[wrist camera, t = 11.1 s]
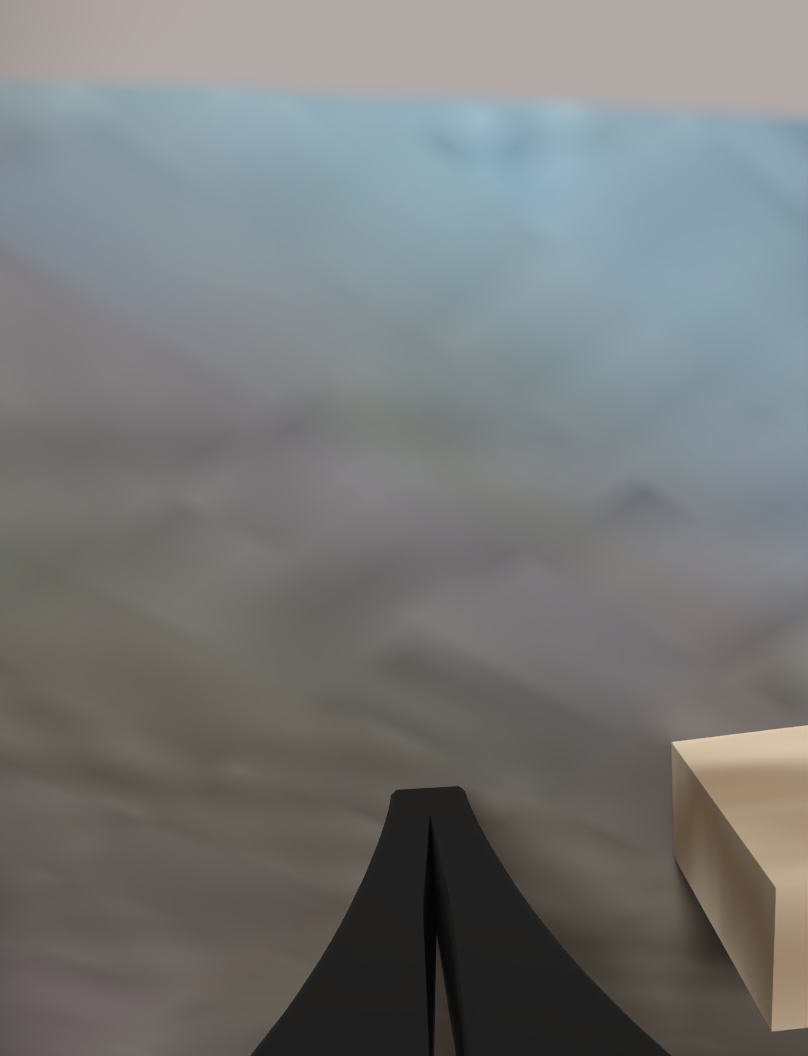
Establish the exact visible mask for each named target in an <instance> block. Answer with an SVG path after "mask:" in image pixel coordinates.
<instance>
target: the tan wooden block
mask: <svg viewBox="0 0 808 1056" xmlns="http://www.w3.org/2000/svg"><path fill="white" fill-rule="evenodd" d="M671 746H672V788H673V830H674V858H675V860H676V861H677V863H678V865H679V867H680V869H681V870H682V872H683V874H684V876H685V878H686V879H687V881H688V883H689V885H690V887H691V888H692V890H693V892H694V894H695V896H696V897H697V899H698V901H699V903H700V904H701V906H702V908H703V910H704V912H705V913H706V915H707V917H708V919H709V921H710V922H711V924H712V926H713V928H714V930H715V931H716V933H717V935H718V937H719V939H720V940H721V942H722V944H723V946H724V947H725V949H726V951H727V953H728V955H729V956H730V958H731V960H732V962H733V964H734V965H735V967H736V969H737V971H738V973H739V974H740V976H741V978H742V980H743V982H744V983H745V985H746V987H747V989H748V990H749V992H750V994H751V996H752V998H753V999H754V1001H755V1003H756V1005H757V1007H758V1008H759V1010H760V1012H761V1014H762V1016H763V1017H764V1019H765V1021H766V1023H767V1024H768V1026H769V1028H770V1030H771V1032H772V1031H781V1030H790V1029H799V1028H808V725H807V726H799V727H790V728H782V729H774V730H766V731H758V732H750V733H742V734H733V735H725V736H717V737H709V738H701V739H693V740H684V741H676V742H671Z"/></svg>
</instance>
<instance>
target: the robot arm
mask: <svg viewBox="0 0 808 1056" xmlns="http://www.w3.org/2000/svg"><path fill="white" fill-rule="evenodd" d="M436 931H437V937H438V944H439V950H440V957H441V963H442V969H443V976H444V982H445V988H446V995H447V1001H448V1007H449V1013H450V1020H451V1026H452V1032H453V1039H454V1045H455V1051H456V1056H671V1055H670V1054H669V1053H667V1052H666V1051H665V1050H664V1049H663V1048H662V1047H661V1046H660V1045H658V1044H657V1043H656V1042H655V1041H654V1040H653V1039H652V1038H651V1037H650V1036H649V1035H647V1034H646V1033H645V1032H644V1031H643V1030H642V1029H641V1028H640V1027H639V1026H637V1025H636V1024H635V1023H634V1022H633V1021H632V1020H631V1019H630V1018H629V1017H628V1016H627V1015H626V1014H625V1013H624V1012H623V1011H622V1010H621V1009H620V1008H619V1007H618V1006H617V1005H616V1004H615V1003H614V1002H613V1001H612V1000H611V999H610V998H609V997H608V996H607V995H606V994H605V993H604V992H603V991H602V990H601V989H600V988H599V987H598V986H597V985H596V984H595V983H594V982H593V981H592V980H591V979H590V978H589V977H588V976H587V975H586V973H585V972H584V971H583V970H582V969H581V968H580V967H579V966H578V964H577V963H576V962H575V961H574V960H573V959H572V958H571V957H570V955H569V954H568V953H567V952H566V951H565V950H564V949H563V947H562V946H561V945H560V944H559V942H558V941H557V940H556V939H555V938H554V936H553V935H552V934H551V933H550V932H549V930H548V929H547V928H546V927H545V925H544V924H543V923H542V921H541V920H540V919H539V917H538V916H537V915H536V913H535V912H534V911H533V909H532V908H531V907H530V905H529V904H528V903H527V901H526V900H525V898H524V897H523V895H522V894H521V893H520V891H519V890H518V888H517V887H516V885H515V884H514V882H513V881H512V879H511V878H510V876H509V875H508V873H507V872H506V870H505V869H504V867H503V865H502V864H501V862H500V860H499V859H498V857H497V856H496V854H495V852H494V851H493V849H492V847H491V846H490V844H489V842H488V840H487V839H486V837H485V835H484V833H483V831H482V829H481V827H480V825H479V823H478V822H477V819H476V817H475V815H474V813H473V811H472V809H471V807H470V804H469V802H468V799H467V796H466V793H465V791H464V790H463V789H462V788H460V787H459V786H456V787H439V788H421V789H404V790H396V791H395V792H394V793H393V794H392V795H391V800H390V806H389V810H388V814H387V817H386V821H385V824H384V827H383V830H382V833H381V836H380V839H379V842H378V844H377V847H376V849H375V852H374V854H373V857H372V859H371V862H370V864H369V867H368V869H367V872H366V874H365V876H364V878H363V881H362V883H361V885H360V887H359V889H358V891H357V893H356V895H355V897H354V899H353V901H352V903H351V905H350V907H349V909H348V911H347V913H346V915H345V917H344V919H343V921H342V923H341V925H340V926H339V928H338V930H337V932H336V934H335V935H334V937H333V939H332V941H331V942H330V944H329V946H328V947H327V949H326V951H325V952H324V954H323V956H322V957H321V959H320V961H319V962H318V964H317V965H316V967H315V968H314V970H313V971H312V973H311V974H310V976H309V977H308V979H307V980H306V982H305V983H304V985H303V986H302V988H301V989H300V991H299V992H298V994H297V995H296V997H295V998H294V1000H293V1001H292V1002H291V1004H290V1005H289V1007H288V1008H287V1009H286V1011H285V1012H284V1014H283V1015H282V1016H281V1017H280V1019H279V1020H278V1021H277V1023H276V1024H275V1025H274V1026H273V1028H272V1029H271V1030H270V1031H269V1033H268V1034H267V1035H266V1037H265V1038H264V1039H263V1040H262V1042H261V1043H260V1044H259V1045H258V1047H257V1048H256V1049H255V1051H254V1052H253V1053H252V1054H251V1056H434V1029H435V979H436Z"/></svg>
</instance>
